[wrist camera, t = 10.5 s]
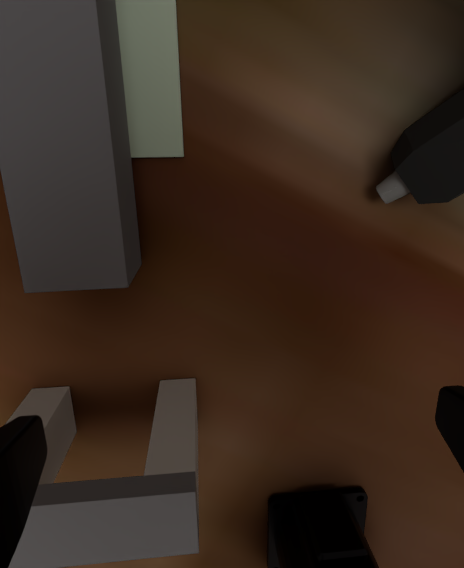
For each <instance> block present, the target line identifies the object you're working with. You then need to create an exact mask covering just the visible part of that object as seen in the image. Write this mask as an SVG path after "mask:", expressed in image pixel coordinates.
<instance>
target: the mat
mask: <svg viewBox="0 0 464 568" xmlns="http://www.w3.org/2000/svg"><path fill="white" fill-rule="evenodd" d="M115 2H116V12H117V22H118V32H119V42H120V52H121V62H122V72H123V82H124V92H125V102H126V112H127V122H128V132H129V142H130V152H131V158H148V157H184V149H183V130H182V111H181V92H180V73H179V53H178V34H177V15H176V0H115Z"/></svg>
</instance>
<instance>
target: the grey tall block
mask: <svg viewBox="0 0 464 568" xmlns="http://www.w3.org/2000/svg"><path fill="white" fill-rule="evenodd" d="M0 170H1V176H2V181H3V186H4V191H5V196H6V201H7V206H8V211H9V216H10V221H11V226H12V231H13V236H14V241H15V246H16V252H17V257H18V262H19V267H20V272H21V277H22V282H23V287H24V292H25V293H34V292H53V291H72V290H91V289H110V288H128V287H129V285H130V283H131V282H132V280H133V278H134V277H135V275H136V273H137V271H138V270H139V268H140V266H141V265H142V262H141V252H140V242H139V232H138V222H137V212H136V202H135V192H134V182H133V172H132V162H131V152H130V142H129V132H128V122H127V112H126V102H125V92H124V82H123V72H122V62H121V52H120V42H119V32H118V22H117V12H116V2H115V0H0Z"/></svg>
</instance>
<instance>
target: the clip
mask: <svg viewBox="0 0 464 568" xmlns="http://www.w3.org/2000/svg"><path fill="white" fill-rule="evenodd" d="M28 415H38V416H40V417H41V419H42V422H43V427H44V432H45V437H46V442H47V458H46V462H45V465H44V468H43V471H42V474H41V478H40V481H39V484H38V487H37V490H36V494H35V497H34V500H33V503H32V506H31V510H30V513H29V516H28V519H27V522H26V525H25V528H24V531H23V534H22V536H21V538H20V541H19V543H18V546H17V548H16V551H15V553H14V555H13V558H12V560H11V562H10V565H9V567H8V568H58V567H68V566H78V565H88V564H97V563H107V562H117V561H126V560H136V559H146V558H155V557H165V556H175V555H184V554H194V553H199V503H198V417H197V397H196V378H190V379H175V380H160V384H159V390H158V396H157V402H156V408H155V414H154V419H153V425H152V431H151V437H150V443H149V449H148V455H147V460H146V466H145V472H144V476H134V477H122V478H111V479H99V480H87V481H75V482H64V483H53V482H54V480H55V478H56V476H57V474H58V472H59V469H60V467H61V465H62V463H63V461H64V458H65V456H66V454H67V452H68V450H69V448H70V445H71V443H72V441H73V439H74V437H75V434H76V432H77V430H76V424H75V418H74V412H73V406H72V400H71V394H70V388H69V386H66V387H51V388H36V389H31V391H30V392H29V393H28V395H27V396H26V397H25V399H24V400H23V401H22V403H21V404H20V405H19V407H18V408H17V409H16V411H15V412H14V413H13V414H12V416H11V417H10V418H9V420H8V421H7V422H6V424H7V423H9V422H10V421H12V420H13V419H15V418H17V417H19V416H28Z"/></svg>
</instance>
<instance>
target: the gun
mask: <svg viewBox="0 0 464 568" xmlns="http://www.w3.org/2000/svg"><path fill="white" fill-rule="evenodd" d="M391 156H392V160H393V164H394V168H395V172H393V173H392V174H391V175H390V176H388V177H387V178H386V179H385V180H384V181H382V182H381V183H380V184H379V185H377V186H376V189H377V192H378V193H379V195H380V197H381V198H382V200H383V201H384V202H385V203H386V204H388V203H390V202H392V201H394V200H396V199H398V198H401V197H403V196H405V195H407V194H409V193H410V192H411V194H412V195H413V197H414V198H415V200H416V201H417V202H418V204H426V203H443V202H449V201H450V200H452V199H454V198H456V197H458V196H459V195H461V194H463V193H464V89H462V90H461V91H459V92H458V93H457V94H455V95H454V96H452V97H451V98H449V99H448V100H447V101H445V102H444V103H442V104H441V105H439V106H438V107H437V108H435V109H434V110H432V111H431V112H430V113H428V114H427V115H425V116H424V117H422V118H421V119H420V120H418V121H417V122H415V123H414V124H412V125H411V126H410V127H408V128H407V129H405V130H404V132H403V134H402V135H401V137H400V138H399V140H398V142H397V143H396V145H395V147H394V148H393V150H392V152H391Z"/></svg>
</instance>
